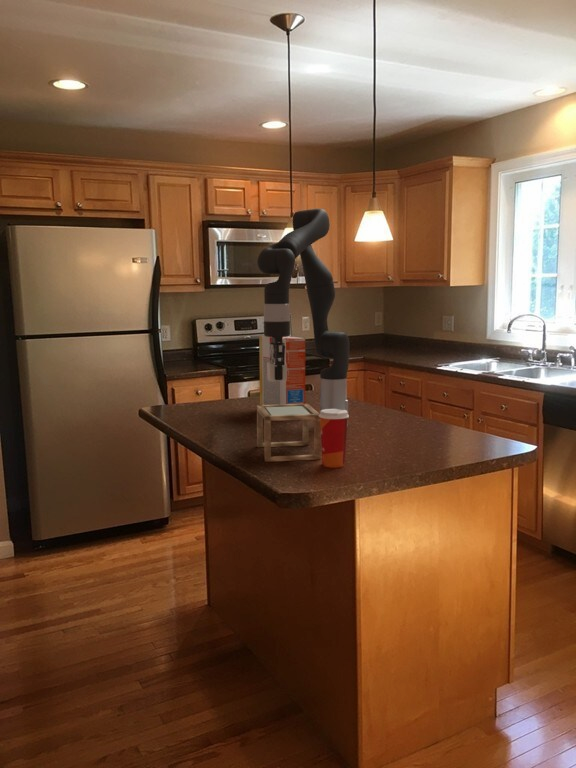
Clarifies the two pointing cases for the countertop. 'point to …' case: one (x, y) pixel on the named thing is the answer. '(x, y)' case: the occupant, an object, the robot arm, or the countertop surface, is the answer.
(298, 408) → the trapdoor
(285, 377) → the white cube
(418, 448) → the countertop surface
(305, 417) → the frame
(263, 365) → the cereal box
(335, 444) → the coffee cup
